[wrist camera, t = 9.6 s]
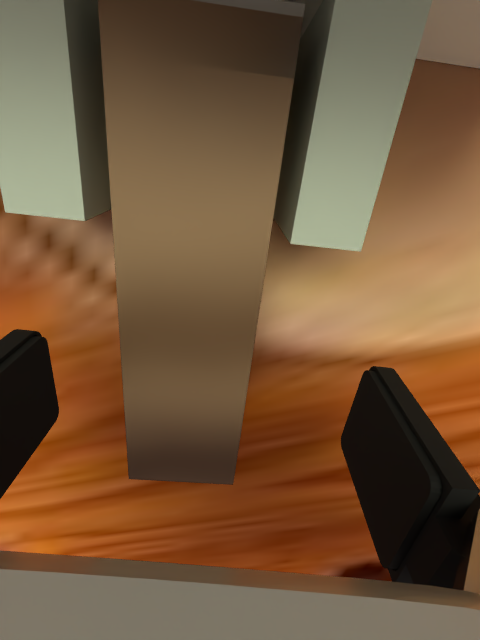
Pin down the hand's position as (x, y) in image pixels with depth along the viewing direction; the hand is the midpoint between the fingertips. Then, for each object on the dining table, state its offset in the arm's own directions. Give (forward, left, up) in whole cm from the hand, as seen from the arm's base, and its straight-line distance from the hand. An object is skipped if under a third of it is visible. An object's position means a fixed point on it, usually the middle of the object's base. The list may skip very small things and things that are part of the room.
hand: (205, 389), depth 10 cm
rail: (+1, -2, -6) cm, 6 cm away
